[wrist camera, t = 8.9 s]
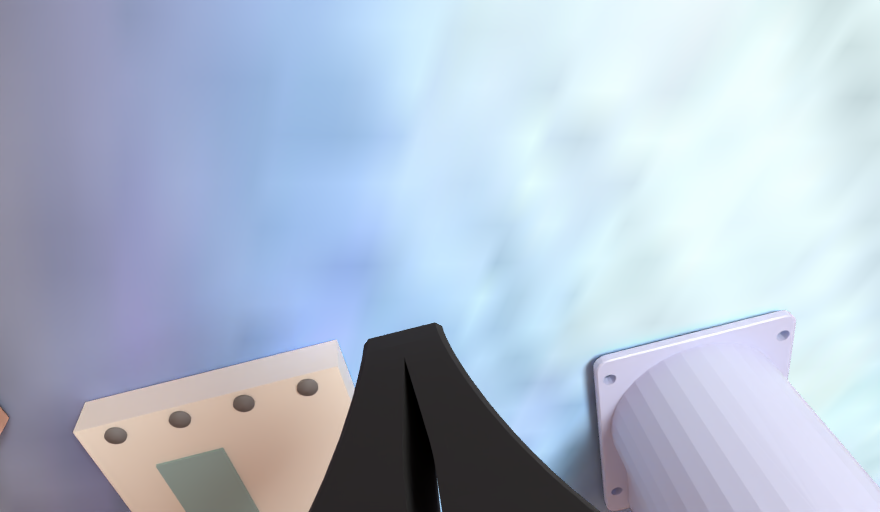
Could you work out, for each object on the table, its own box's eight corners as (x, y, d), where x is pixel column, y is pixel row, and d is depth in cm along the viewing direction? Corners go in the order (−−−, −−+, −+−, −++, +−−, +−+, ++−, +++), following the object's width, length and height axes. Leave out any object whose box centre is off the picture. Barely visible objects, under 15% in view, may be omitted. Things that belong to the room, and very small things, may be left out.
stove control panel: (408, 532, 30) (416, 596, 27) (212, 583, 30) (202, 652, 27) (336, 339, 23) (338, 400, 21) (85, 402, 23) (56, 471, 21)
